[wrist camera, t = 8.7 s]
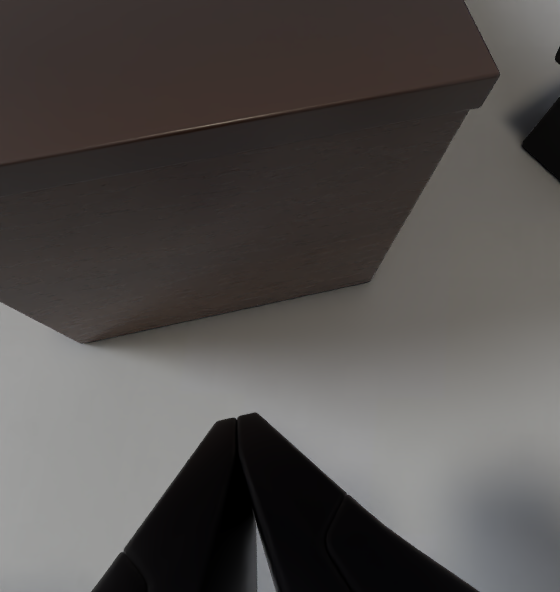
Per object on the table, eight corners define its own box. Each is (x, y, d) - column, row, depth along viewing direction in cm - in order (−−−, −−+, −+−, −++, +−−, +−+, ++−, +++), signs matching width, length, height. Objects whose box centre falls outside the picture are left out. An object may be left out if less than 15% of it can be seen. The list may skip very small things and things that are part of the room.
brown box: (374, 283, 17) (502, 74, 7) (78, 347, 16) (-216, 203, 6) (270, -42, 22) (266, -397, 13) (48, -8, 22) (-131, -364, 12)
